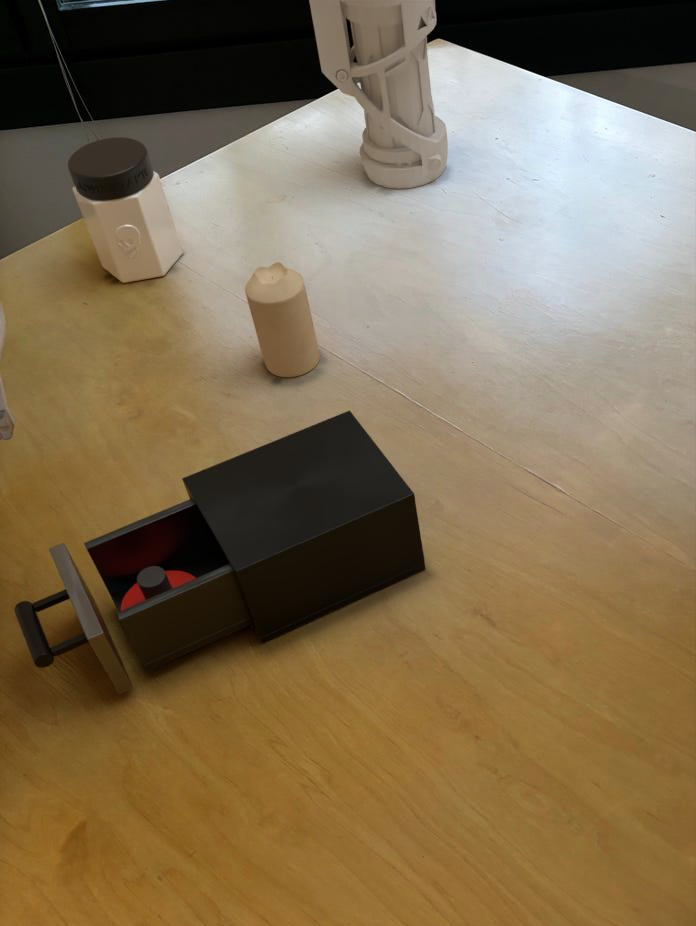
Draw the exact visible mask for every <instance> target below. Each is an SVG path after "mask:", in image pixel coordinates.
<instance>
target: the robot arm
mask: <svg viewBox="0 0 696 926" xmlns="http://www.w3.org/2000/svg"><path fill="white" fill-rule="evenodd" d="M7 332H8V331H7V322H6V317H5V311H4V308H3V304H2V301H1V300H0V363H1V362H2V357H3V352H4V347H5V343H6V342H5V341H6V338H7ZM15 427H16V419H15V417H14V416H13V412H11V410H10V408H9V405H8V401H7V396H6V392H5V387H4V383H3V378H2V373H1V372H0V441H1V440H4V441H9V440H11V439H12V438H13V436H14V430H15Z"/></svg>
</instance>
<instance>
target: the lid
mask: <svg viewBox="0 0 696 926" xmlns="http://www.w3.org/2000/svg"><path fill="white" fill-rule="evenodd" d="M193 579H196V577H194V576H193V575H191V574H189V573H186V572H183V571H174V570H171V571H164V569H163V568H161V567H158V566H150V567H147V568H145V569H143V570H142V571H141V572H140V573H139V574H138V576H137V583H136V584H134V585H133V586H132V587H131V588H130V589H129V591H128V592H127V593H126V595H125V596H124V598H123V601H122V604H121V611H122V610H124V609H126V608H129V607H131V606H133V605H136V604H138V603H140V602H142V601H145V600H147V599H149V598H152V597H154V596H156V595H159V594H161V593H163V592H166V591H168V590H170V589H172V588H175V587H177V586H179V585H182V584H184V583H186V582H189V581H191V580H193Z"/></svg>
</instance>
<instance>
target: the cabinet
mask: <svg viewBox="0 0 696 926" xmlns="http://www.w3.org/2000/svg"><path fill="white" fill-rule="evenodd" d="M181 480H182V483H183V485H184V487H185V490H186V492H187V495H188V498H189V499H193V501H194V503H195V504H196V506H197V508H198V510H199V511H200V513H201V515H202V517H203V518H204V520H205V522H206V524H207V525H208V527H209V529H210V531H211V532H212V534H213V536H214V538H215V539H216V541H217V543H218V544H219V546H220V548H221V550H222V551H223V553H224V555H225V557H226V558H227V560H228V562H229V564H230V565H231V567H232V569H233V571H234V572H235V575H236V578H237V581H238V583H239V586H240V589H241V592H242V594H243V597H244V600H245V602H246V605H247V608H248V611H249V613H250V616H251V619H252V622H253V624H251V625H250V626H251V627H252V630H253V631H254V633H255V634H256V636H257V638H258V639H259V641H260V643H261V644H265V643H268V642H269V641H272V640H274V639H276V638H278V637H281V636H283V635H285V634H287V633H290V632H292V631H294V630H296V629H298V628H300V627H303V626H305V625H307V624H309V623H311V622H314V621H315V620H318V619H320V618H323V617H324V616H326V615H328V614H331V613H334V612H335V611H338V610H339V609H342V608H344V607H346V606H348V605H350V604H353V603H355V602H357V601H359V600H361V599H363V598H366V597H368V596H370V595H372V594H374V593H377V592H379V591H381V590H383V589H385V588H388V587H390V586H392V585H394V584H396V583H398V582H401V581H404V580H405V579H408V578H409V577H411V576H414V575H416V574H418V573H420V572H422V571H424V570H426V563H425V556H424V547H423V542H422V536H421V530H420V523H419V517H418V510H417V509H418V508H417V503H416V497H415V496H416V495H415V493H414V492H413V490H412V489H411V488H410V486H409V485H408V484H407V482H406V481H405V480H404V478H403V477H402V475H400V473H399V472H398V471H397V469H396V468H395V467H394V465H393V464H392V463H391V462H390V460H389V459H388V458H387V456H386V455H385V454H384V453H383V451H382V450H381V449H380V448H379V446H378V445H377V444H376V442H375V441H374V440H373V438H372V437H371V436H370V435H369V433H368V432H367V430H366V429H365V428H364V427H363V425H362V424H361V423H360V422H359V420H358V419H357V418H356V417H355V415H354V414H353V413H352V411H351V410H347V411H344V412H342V413H340V414H337V415H335V416H332V417H330V418H327V419H324V420H321V421H319V422H317V423H315V424H312V425H310V426H307V427H305V428H303V429H300V430H297V431H295V432H293V433H290V434H287V435H285V436H283V437H281V438H278V439H275V440H273V441H271V442H269V443H268V442H267V443H266V444H263V445H260V446H259V447H256V448H254V449H251V450H249V451H246V452H244V453H241V454H239V455H237V456H233V457H231V458H229V459H226V460H224V461H221V462H219V463H216V464H214V465H212V466H209V467H207V468H204V469H202V470H199V471H197V472H195V473H192V474H189V475H187V476H185V477H182V478H181Z"/></svg>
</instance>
